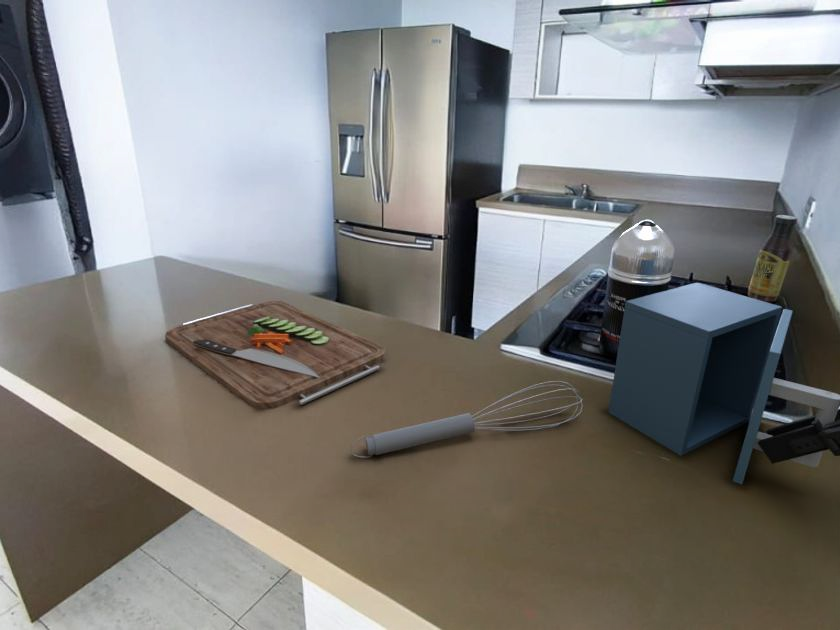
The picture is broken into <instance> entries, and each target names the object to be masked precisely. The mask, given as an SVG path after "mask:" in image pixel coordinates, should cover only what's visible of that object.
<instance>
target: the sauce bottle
mask: <svg viewBox="0 0 840 630" xmlns="http://www.w3.org/2000/svg"><path fill="white" fill-rule="evenodd" d="M797 221H798V217H796V216H793V215H786V214H785V215H784V214H778V215H776V216H775V218H774V220H773V222H774V223H773V227H772V231H771V232H770V235H769V236H768V237H767V239H766V241H765V242H764V244H763V245H762V246H761V248H760V249H759V252H758V256H757V259H756V261H755V266H754V267H753V272H752V275H751V279H750V282H749V285H748V290H747V297H750V298H753V299H757V300H760V301H764V302H767V303H773V302H776V301H777V300H778V296H780V294H781V293H780V292H781V289H782V286H783V283H784V280H785V278H786V275H787V271H788V268H789V265H790V262H791V257H792V254H793V250H794V245H793V242H792V234H793V232H794V231H793V230H794V227H795V225H796V224H797Z"/></svg>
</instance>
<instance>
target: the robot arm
mask: <svg viewBox="0 0 840 630" xmlns="http://www.w3.org/2000/svg"><path fill="white" fill-rule="evenodd" d="M816 415H817V414H813V415H810V416H806V417H803V418H800V419H797V420H794V421H791V422H787V423H785V424H781V425H778V426H775V427H774V426H773V427H771V428H768V429H767V430H766V431H765V434H768V435H772V437H769V438H765V439H762V440H759V441H758V444H759V446H760V447H761V449H762V450H763V451H762V452H763V453H764V454H765V456H766V457H767V459H768V460H769V461H770V463H771V464H772V465H773V464H777V463H781V462H784V461H790V460H789V459H793V458H797V457H801V456H805V455H809V454H813V453H816V452H820V451H823V452H824V451H828V450H829V451H830V452H831V453H832V455H833V456H834V457H840V406H839V409H838V412H837V415H836V417H835V420H834V422H831V423H828V424H825V425H822V424H821V422H820V421H819V420H818V419H817V420H815V418H816Z"/></svg>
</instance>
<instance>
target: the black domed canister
mask: <svg viewBox="0 0 840 630" xmlns="http://www.w3.org/2000/svg"><path fill="white" fill-rule="evenodd" d="M674 247H675V246H674V244H673V242H672V240H671V239H670V237H669V236H668V235H667V234H666V232H665V231H664V230H663V229H661V228H660V227H659V226H658V225H657V224H656V223H655V222H654V221H652V220H650V219H645V220H641V221H640V222H639V223H636V224H635V225H634V226H632V227H630V228H629V229H627V230H625V231H624V232H623V233H622V234H621V235H620V236H619V237H618V238H616V240H615V242H614V243H613V245H612V248H611V254H610V260H609V261H610V262H609V266H608V270H607V275H608V277H607V283H606V291H605V298H604V304H603V305H604V306H603V312H602V319H601V327H600V333H599V341H598V347H599V349H600V351H601V352H602V353H603V354H604V355H605V356H606V357H608V358H610V359H613V360H614V361H616V360H617V354H618V348H619V341H620V335H621V329H622V322H623V316H624V310H625V303H626V301H629V300H632V299H636V298H640V297H644V296H648V295H651V294H655V293H659V292H663V291H667V290H669V285H670V284H669V283H670V282H671V281H672V272H673V267H674V262H675V261H674V260H675V253H676V252H675V248H674ZM601 329H602V330H601Z"/></svg>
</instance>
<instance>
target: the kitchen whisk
mask: <svg viewBox="0 0 840 630" xmlns="http://www.w3.org/2000/svg"><path fill="white" fill-rule="evenodd" d="M548 383H563V384H567V385H568V386H570V387H571V388H570V387H568V386H567V385H561V384H555V386H557V387H563V388H559V389H555V390H551V391H547V392H543V393H540V394H537V395H533V396H529V397H527V398H523V399H521V400H517V401H515V402H512V403H509V404H506V405H503V406H501V407H498V408H496V409H493V410H491V411H489V412H488V411H487V412H486V413H484V414H481V415H479V416H477V415H478V414H480V413H482V412H484V411H486V410H488V409H489V408H492V407H493V406H495V405H497V404H499V403H501V402H504V401H506V400H508V399H509V398H512V397H514V396H517V395H519V394H522V393H524V392H528V391H531V390H534V389H539V388H543V387H552V386H553V387H554V384H548ZM566 390H570V391H572V392H573V393H574V394H575V396H574V395H571V396H570V395H564V396H557V397H550V398H549V397H548V398H544V399H539V400H536V401H532V402H527V403H524V404H520V405H516V406H513V407H509V406H512V405H514V404H518V403H520V402H523V401H526V400H529V399H533V398H535V397H539V396H542V395H546V394H549V393H554V392H558V391H566ZM577 393H578V394H577ZM559 398H560V399H561V398H576V399H575V401H574V402H573V403H572V404H568V405H565V406H561V407H557V408H553V409H547V410H543V411H538V412H532V413H525V414H522V415H515V416H510V417H503V418H497V419H490V420H484V421H478V420H480V419H483V418H486V417H489V416H493V415H496V414H498V413H502V412H506V411H509V410H513V409H515V408H519V407H522V406H523V407H524V406H526V405H530V404H535V403H539V402H542V401H547V400H553V399H559ZM583 400H584V399H583V398H582V397H580V391H579V390H578V389H576V388H575V387H573V385H571V384H570V383H569V382H565V381H561V380H554V381H553V380H551V381H550V380H549V381H545V382H541V383H537V384H533V385H531V386H527V387H525V388H523V389H521V390H518V391H516V392H513V393H512V394H510V395H507V396H505V397H503V398H500V399H499V400H497V401H496V402H494V403H492V404H490V405H488V406H487V407H485V408H483V409H481V410H480V411H478V412H476V413H474V414H473V415H472V414H471V413H470V412H467V413H463V414H459V415H454V416H450V417H445V418H441V419H436V420H433V421H428V422H423V423H418V424H415V425H411V426H405V427H402V428H397V429H391V430H387V431H384V432H379V433H375V434H372V435H371V436H368V435H364V436H362V437H360V438H358V439H357V440H355V441H354V442H353V443H352V444H351V446H350V453H351V454H352V455H353V456H355V457H357V458H365V459H366V458H371V457H372V456H373V455H375V456H379V455H383V454H388V453H392V452H396V451H401V450H404V449H408V448H409V449H410V448H412V447H416V446H421V445H426V444H429V443H434V442H439V441H442V440H447V439H450V438H455V437H459V436H463V435H464V436H465V435H467V434H471V433H472V434H473V433H474V432H475V430H476V429H478V430H487V431H489V430H490V431H508V432H509V431H515V432H516V431H517V432H518V431H520V432H521V431H534V430H539V429H540V430H541V429H542V428H544V429H547V428H552V427H557V426H559V425H561V424H563V423H564V424H565V423H567V422H569V421H571V420H574V419H576V418H577V417H578V416H579V415H580V414H581V413H582V410H583V407H584V405H583V403H582V401H583ZM579 404H581V407H580V411H579V413H577V414H576V412H577V411H578V408H579ZM575 405H576V408H575V410H574V412H573V414H572V415H571V416H569V417H568V418H567V419H566V420H564V421H560V422H556V423H552V424H544V425H534V426H521V427H520V426H516V427H515V426H513V427H512V426H509V427H508V426H507V427H505V426H504V427H502V426H501V427H499V426H498V427H497V426H493V425H506V424H515V423H521V422H527V421H528V422H529V421H533V420H537V419H538V417H536V418H530V419H524V420H518V421H517V420H516V421H508V422H497V423H491V422H495V421H502V420H509V419H514V418H520V417H526V416H531V415H536V414H537V415H538V414H542V413H546V412H551V411H552V412H553V411H556V410H559V411H558V412H555V413H552V414H548V415H544V416H540V417H539V419H543V418H547V417H551V416H554V415H557V414H560V413H562V412H564V411H566V410H568V409H570V408H571V407H573V406H575ZM506 407H509V408H506ZM504 408H506V409H504ZM501 409H503V410H501ZM561 409H562V410H561ZM495 411H496V412H495ZM575 414H576V415H575ZM475 416H476V417H475ZM473 417H474V418H473ZM475 421H478V422H475ZM489 422H490V423H489ZM362 439H365V445H366V450H367V455H368V456H363V455H357V454H354V453H353V446H354V445H355V444H356V443H357V442H359V441H360V440H362Z"/></svg>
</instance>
